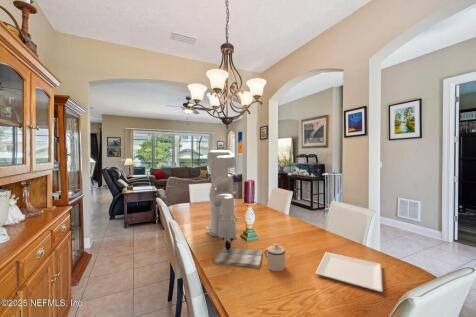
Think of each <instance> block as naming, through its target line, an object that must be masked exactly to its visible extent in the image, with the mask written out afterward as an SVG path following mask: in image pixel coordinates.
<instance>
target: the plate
mask: <svg viewBox="0 0 476 317" xmlns="http://www.w3.org/2000/svg"><path fill="white" fill-rule="evenodd" d="M315 274H316V275H318V276H322V277H324V278H329V279H333V280H336V281H340V282H342V283H347V284H350V285H354V286H357V287H361V288H365V289H370V290H373V291H377V292H379V293H382V292H383V275H382V264H381V263H379V262H373V261H369V260H366V259H365V260H364V259H360V258H355V257H352V256H351V257H350V256H346V255H341V254H338V253H333V252H328V251H326V252H325V253H324V255H323V257H322V259H321V261H320V263H319V265H318V267H317V268H316V271H315Z"/></svg>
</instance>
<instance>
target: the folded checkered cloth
mask: <svg viewBox="0 0 476 317" xmlns="http://www.w3.org/2000/svg"><path fill="white" fill-rule="evenodd" d="M219 252H223V253H234V254H245V255H256V256H261V259H262V257H263V250H259V249H247V248H246V249H245V248H237V247H236V248H235V247H234V248H233V247H231V248H230V249H229V250H228V249H227V250H226V247H225V246H224V247H223V246H222V247H221V248H220V250H219Z"/></svg>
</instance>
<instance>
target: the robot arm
mask: <svg viewBox="0 0 476 317" xmlns="http://www.w3.org/2000/svg"><path fill="white" fill-rule="evenodd" d="M206 155H207V156H206V157H207V163H208V166H209V168H210V184H211V185H210V190H209V194H208V195H209V196H208V197H209V203H210V226H205V231H208V235H209V236H212V237H218V239H221V240H223V241H224V243H225V244H224V245H225V246H224V247H225V248H226V250H227V249H228V250H229V249H230V248H232V242H233V241H236V240H238V236H237V235H238V232H237V231H238V229H237V221H236V219H235V198H234V181H233V180H234V179H233V176H232V175H231V174H229V169H234V168H235V167H236V166H237V165H236V164H237V163H236V162H237V161H236V157H235V155H234V154H233V153H232V151H231V150H226V149H225V150H223V149H222V150H220V149H219V150H217V149H216V150H214V149H213V150H210V151H208V152H207V154H206ZM216 188H217V189H216ZM218 188H223V189H218ZM225 188H226V189H225Z"/></svg>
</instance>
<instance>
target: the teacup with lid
mask: <svg viewBox="0 0 476 317" xmlns="http://www.w3.org/2000/svg"><path fill="white" fill-rule="evenodd" d="M263 251H264V257H265V258H266V259H267V269H268V270H270V271H273V272H282V271H284V270H285V267H286V250H285V248H284V247H283V246H281V245H279V244H278V243H274V245H270V246H268V247H267V248H266V249H265V250H263Z"/></svg>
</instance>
